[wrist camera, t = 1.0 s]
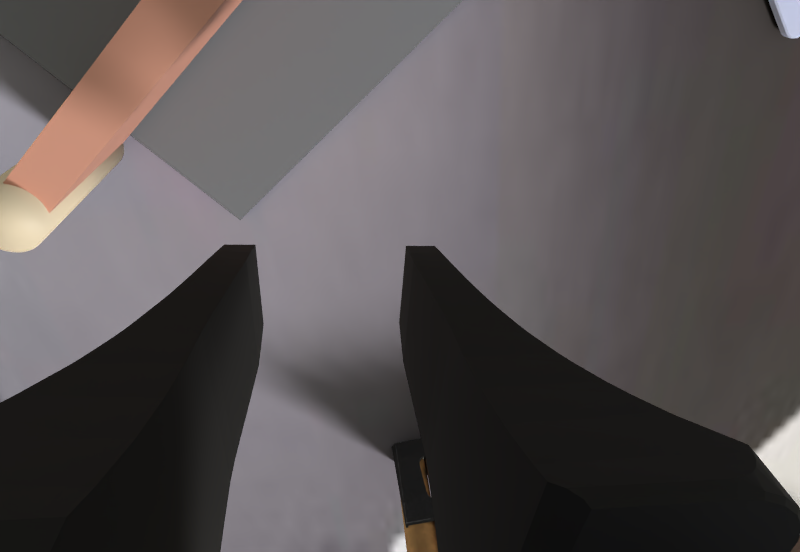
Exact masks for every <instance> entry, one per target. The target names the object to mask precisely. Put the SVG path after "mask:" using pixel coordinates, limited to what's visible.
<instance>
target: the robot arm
mask: <svg viewBox="0 0 800 552" xmlns="http://www.w3.org/2000/svg"><path fill="white" fill-rule="evenodd" d="M768 1H769V4H770V6H771V9H772V12H773V14H774V17H775V20H776V22H777V25H778V28H779V30H780V33H781V34H782V35H783V36H785V37H788V38H798V37H800V0H768ZM399 323H400V334H401V344H402V353H403V362H404V366H405V371H406V375H407V380H408V384H409V388H410V393H411V397H412V401H413V405H414V410H415V414H416V418H417V422H418V427H419V431H420V435H421V439H422V444H423V448H424V452H425V458H426V463H427V468H428V474H429V482H430V490H431V497H432V505H433V513H434V521H435V529H436V538H437V546H438V552H791V550H792V549H793V547H794V546H795V545H796V543H797V542H798V540H799V536H800V508H799V506H798V505H797V504H796V503H795V501H794V500H793V499H792V498H791V496H790V495H789V494H788V493H787V491H786V490H785V489H784V488H783V487H782V485H781V484H780V483H779V482H778V480H777V479H776V478H775V477H774V476H773V474H772V473H771V472H770V471H769V469H768V468H767V467H766V466H765V465H764V463H763V462H762V461H761V460H760V458H759V457H758V456H757V455H756V454H755V452H754V451H753V450H752V449H751V448H750V446H749V445H747V444H745V443H742V442H740V441H737V440H735V439H732V438H730V437H728V436H725V435H723V434H720V433H718V432H715V431H713V430H710V429H708V428H705V427H703V426H700V425H698V424H695V423H693V422H690V421H688V420H685V419H683V418H680V417H678V416H676V415H673V414H671V413H669V412H667V411H665V410H662V409H660V408H658V407H656V406H654V405H652V404H650V403H648V402H646V401H644V400H641V399H639V398H637V397H635V396H633V395H631V394H629V393H627V392H625V391H623V390H621V389H619V388H617V387H616V386H614V385H612V384H610V383H608V382H606V381H604V380H602V379H601V378H599V377H597V376H595V375H594V374H592V373H590V372H589V371H587V370H585V369H583V368H582V367H580V366H578V365H576V364H575V363H573V362H571V361H570V360H568V359H567V358H565V357H563V356H562V355H560V354H559V353H557V352H556V351H554V350H553V349H551V348H550V347H548V346H547V345H546V344H544V343H543V342H541V341H540V340H538V339H537V338H535V337H534V336H533V335H531V334H530V333H528V332H527V331H526V330H524V329H523V328H522V327H521V326H519V325H518V324H517V323H515V322H514V321H513V320H512V319H511V318H509V317H508V316H507V315H506V314H505V313H503V312H502V311H501V310H500V309H499V308H497V307H496V306H495V305H494V304H493V303H492V302H491V301H489V300H488V299H487V298H486V297H485V296H484V295H483V294H482V293H481V292H480V291H479V290H478V289H476V288H475V287H474V286H473V285H472V284H471V283H470V282H469V281H468V280H467V279H466V278H465V277H464V276H463V275H462V274H461V273H460V272H459V271H458V270H457V269H456V268H455V267H454V266H453V265H452V264H451V262H450V261H449V260H448V259H447V258H446V257H445V256H444V255H443V254H442V253H441V252H440V251H439V250H438V249H437V248H436V247H435V246H406V253H405V265H404V276H403V287H402V298H401V310H400V321H399ZM262 332H263V315H262V305H261V296H260V286H259V276H258V267H257V257H256V247H255V245H223V246H222V247H221V248H220V249H219V250H218V251H217V252H216V253H214V254H213V255H212V256H211V257H210V258H209V259H208V260H207V261H206V262H205V263H204V264H202V265H201V266H200V267H199V268H198V269H197V270H196V271H195V272H194V273H193V274H192V275H191V276H189V277H188V278H187V279H186V280H185V281H184V282H183V283H182V284H181V285H179V286H178V287H177V288H176V289H175V290H174V291H173V292H171V293H170V294H169V295H168V296H167V297H165V298H164V299H163V300H162V301H160V302H159V303H158V304H157V305H155V306H154V307H153V308H152V309H150V310H149V311H148V312H146V313H145V314H144V315H143V316H141V317H140V318H139V319H138V320H136V321H135V322H134V323H132V324H131V325H130V326H128V327H127V328H126V329H124V330H123V331H122V332H120V333H119V334H117V335H116V336H114V337H113V338H111V339H110V340H108V341H107V342H105V343H104V344H102V345H101V346H99V347H98V348H96V349H95V350H93V351H91V352H90V353H88V354H87V355H85V356H84V357H82V358H81V359H79V360H77V361H76V362H74V363H72V364H71V365H69V366H67V367H65V368H63V369H62V370H60V371H58V372H56V373H54V374H53V375H51V376H49V377H47V378H45V379H44V380H42V381H40V382H38V383H36V384H34V385H33V386H31V387H29V388H27V389H25V390H24V391H22V392H20V393H18V394H16V395H15V396H13V397H11V398H9V399H7V400H5V401H3V402H1V403H0V552H220V550H221V542H222V535H223V528H224V521H225V514H226V507H227V500H228V494H229V487H230V480H231V476H232V471H233V466H234V461H235V457H236V453H237V449H238V445H239V441H240V437H241V433H242V429H243V426H244V422H245V418H246V414H247V410H248V406H249V402H250V398H251V394H252V390H253V386H254V382H255V378H256V374H257V370H258V366H259V358H260V350H261V341H262Z"/></svg>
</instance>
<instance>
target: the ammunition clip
mask: <svg viewBox="0 0 800 552" xmlns="http://www.w3.org/2000/svg"><path fill="white" fill-rule="evenodd" d="M392 450H393V456H394V462H395V468H396V474H397V479H398V485H399V491H400V497H401V506H402V514H403V522H404V530H405V539H406V547H407V552H438V546H437V538H436V529H435V521H434V513H433V505H432V498H431V496H430V490H429V484H430V482H429V484H428V478H429V474H428V468H427V463H426V458H425V452H424V448H423V444H422V439H418V440H413V441H407V442H401V443H395V444H394V445H393V446H392ZM427 475H428V478H427Z"/></svg>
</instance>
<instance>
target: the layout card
mask: <svg viewBox="0 0 800 552" xmlns="http://www.w3.org/2000/svg"><path fill="white" fill-rule="evenodd" d="M140 1H141V0H0V35H1V36H3V37H4V38H5V39H7V40H8V41H9V42H10V43H12V44H13V45H14V46H16V47H17V48H18V49H20V50H21V51H22V52H23V53H25V54H26V55H27V56H29V57H30V58H31V59H32V60H34V61H35V62H36V63H38V64H39V65H40V66H41V67H43V68H44V69H45V70H47V71H48V72H49V73H51V74H52V75H53V76H54V77H56V78H57V79H58V80H60V81H61V82H62V83H63V84H65V85H66V86H67V87H69V88H70V89H71V90H73V89H74V88H75V87H76V86H77V84H78V83H79V82H80V80H81V79H82V78H83V76H84V75H85V74H86V72H87V71H88V70H89V68H90V67H91V66H92V64H93V63H94V62H95V60H96V59H97V58H98V56H99V55H100V54H101V52H102V51H103V50H104V48H105V47H106V46H107V44H108V43H109V42H110V41H111V39H112V38H113V37H114V35H115V34H116V33H117V31H118V30H119V29H120V27H121V26H122V25H123V23H124V22H125V21H126V19H127V18H128V17H129V15H130V14H131V13H132V11H133V10H134V9H135V7H136V6H137V5H138V3H139V2H140ZM462 1H463V0H242V1H241V3H240V4H239V5H238V6H237V7H236V9H235V10H234V11H233V12H232V13H231V15H230V16H229V17H228V18H227V19H226V21H225V22H224V23H223V24H222V25H221V27H220V28H219V29H218V30H217V31H216V33H215V34H214V35H213V36H212V37H211V38H210V40H209V41H208V42H207V43H206V44H205V46H204V47H203V48H202V49H201V50H200V52H199V53H198V54H197V55H196V56H195V58H194V59H193V60H192V61H191V62H190V64H189V65H188V66H187V67H186V68H185V70H184V71H183V72H182V73H181V74H180V76H179V77H178V78H177V79H176V80H175V82H174V83H173V84H172V85H171V86H170V87H169V89H168V90H167V91H166V92H165V93H164V95H163V96H162V97H161V98H160V99H159V101H158V102H157V103H156V104H155V105H154V107H153V108H152V109H151V110H150V111H149V113H148V114H147V115H146V116H145V117H144V119H143V120H142V121H141V122H140V123H139V125H138V126H137V127H136V128H135V129H134V131H133V132H132V133H131V134H130V135H131V136H132V137H133V138H135V139H136V140H137V141H139V142H140V143H141V144H142V145H144V146H145V147H146V148H148V149H149V150H150V151H151V152H153V153H154V154H155V155H157V156H158V157H159V158H161V159H162V160H163V161H164V162H166V163H167V164H168V165H170V166H171V167H172V168H173V169H175V170H176V171H177V172H179V173H180V174H181V175H182V176H184V177H185V178H186V179H188V180H189V181H190V182H192V183H193V184H194V185H195V186H197V187H198V188H199V189H201V190H202V191H203V192H204V193H206V194H207V195H208V196H210V197H211V198H212V199H214V200H215V201H216V202H217V203H219V204H220V205H221V206H223V207H224V208H225V209H226V210H228V211H229V212H230V213H232V214H233V215H234V216H236V217H237V218H238V219H239V220H241V219H242V218H243V217H244V216H245V215H246V214H247V213H248V212H249V211H250V210H251V209H252V208H253V207H254V206H255V205H256V204H257V203H258V202H259V201H260V200H261V199H262V198H263V197H264V196H265V195H266V194H267V193H268V192H269V191H270V190H271V189H272V188H273V187H274V186H275V185H276V184H277V183H278V182H279V181H280V180H281V179H282V178H283V177H284V176H285V175H286V174H287V173H288V172H289V171H290V170H291V169H292V168H293V167H294V166H295V165H296V164H297V163H298V162H300V161H301V160H302V159H303V158H304V157H305V156H306V155H307V154H308V153H309V152H310V151H311V150H312V149H313V148H314V147H315V146H316V145H317V144H318V143H319V142H320V141H321V140H322V139H323V138H324V137H325V136H326V135H327V134H328V133H329V132H330V131H331V130H332V129H333V128H334V127H335V126H336V125H337V124H338V123H339V122H340V121H341V120H342V119H343V118H344V117H345V116H346V115H347V114H348V113H349V112H350V111H351V110H352V109H353V108H354V107H355V106H356V105H357V104H358V103H359V102H360V101H361V100H362V99H363V98H364V97H365V96H366V95H367V94H368V93H369V92H370V91H371V90H372V89H373V88H374V87H376V86H377V85H378V84H379V83H380V82H381V81H382V80H383V79H384V78H385V77H386V76H387V75H388V74H389V73H390V72H391V71H392V70H393V69H394V68H395V67H396V66H397V65H398V64H399V63H400V62H401V61H402V60H403V59H404V58H405V57H406V56H407V55H408V54H409V53H410V52H411V51H412V50H413V49H414V48H415V47H416V46H417V45H418V44H419V43H420V42H421V41H422V40H423V39H424V38H425V37H426V36H427V35H428V34H429V33H430V32H431V31H432V30H433V29H434V28H435V27H436V26H437V25H438V24H439V23H440V22H441V21H442V20H443V19H444V18H445V17H446V16H447V15H448V14H449V13H450V12H451V11H453V10H454V9H455V8H456V7H457V6H458V5H459V4H460V3H461V2H462Z"/></svg>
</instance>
